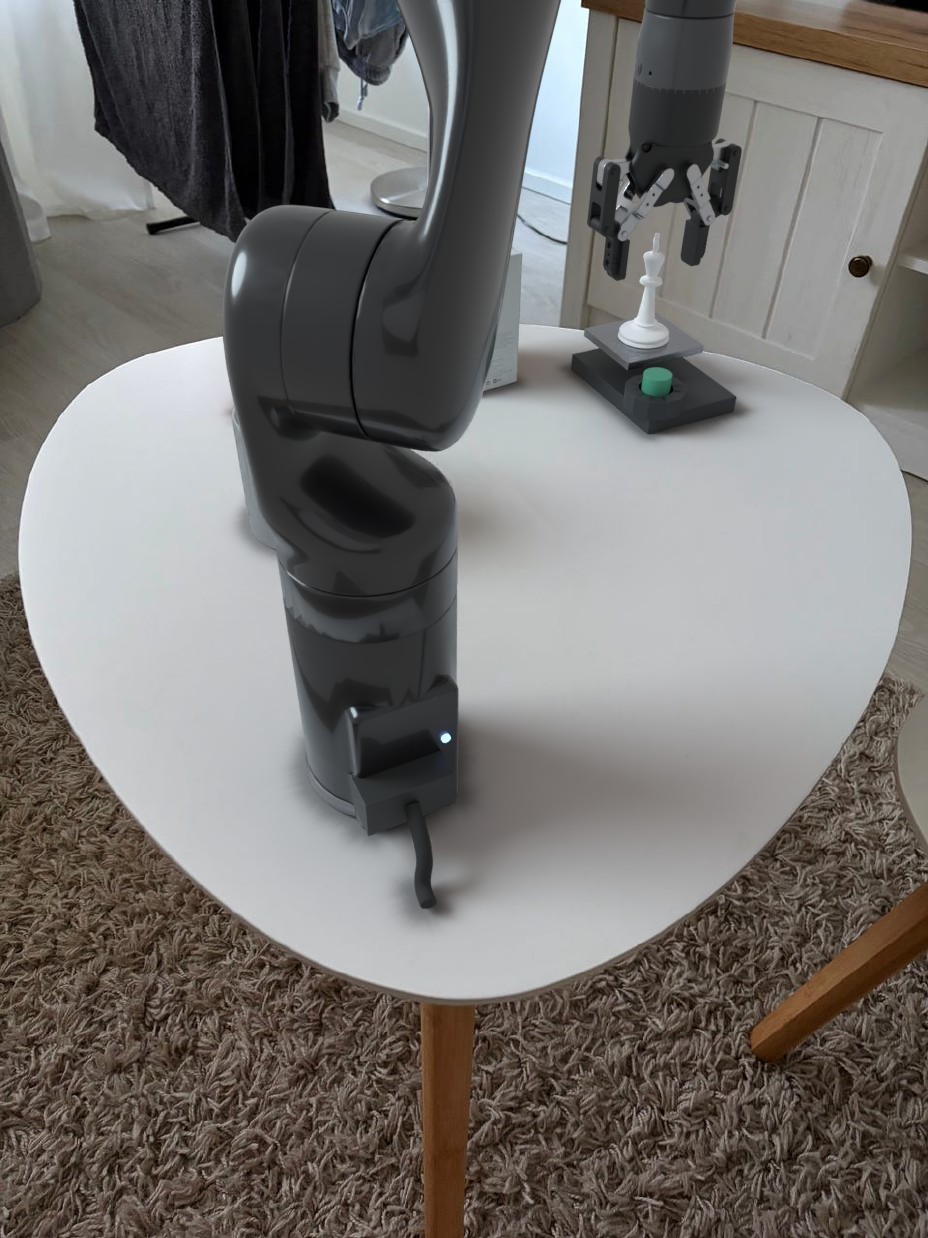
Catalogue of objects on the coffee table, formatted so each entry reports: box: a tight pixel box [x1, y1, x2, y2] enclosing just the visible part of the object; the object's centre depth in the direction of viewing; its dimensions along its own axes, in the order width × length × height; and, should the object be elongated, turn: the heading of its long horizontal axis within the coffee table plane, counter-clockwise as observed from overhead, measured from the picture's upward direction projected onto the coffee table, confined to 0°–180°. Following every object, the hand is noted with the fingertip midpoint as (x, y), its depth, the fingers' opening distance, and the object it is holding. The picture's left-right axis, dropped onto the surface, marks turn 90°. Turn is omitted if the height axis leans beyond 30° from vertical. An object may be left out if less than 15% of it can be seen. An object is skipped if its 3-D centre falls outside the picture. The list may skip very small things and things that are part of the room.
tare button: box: [641, 367, 672, 396], centre depth 90 cm, size 3×3×2 cm
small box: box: [483, 246, 523, 392], centre depth 95 cm, size 8×6×13 cm
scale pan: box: [583, 312, 705, 370], centre depth 96 cm, size 8×9×1 cm
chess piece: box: [618, 232, 669, 349], centre depth 92 cm, size 5×5×10 cm
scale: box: [570, 347, 738, 435], centre depth 95 cm, size 15×11×4 cm
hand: (653, 269), depth 91 cm, fingers open, 7 cm apart
